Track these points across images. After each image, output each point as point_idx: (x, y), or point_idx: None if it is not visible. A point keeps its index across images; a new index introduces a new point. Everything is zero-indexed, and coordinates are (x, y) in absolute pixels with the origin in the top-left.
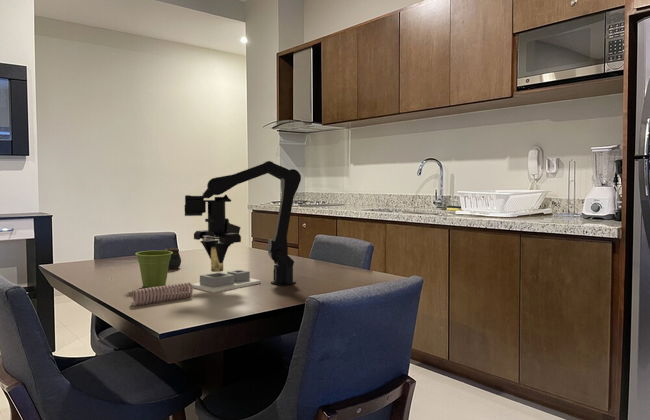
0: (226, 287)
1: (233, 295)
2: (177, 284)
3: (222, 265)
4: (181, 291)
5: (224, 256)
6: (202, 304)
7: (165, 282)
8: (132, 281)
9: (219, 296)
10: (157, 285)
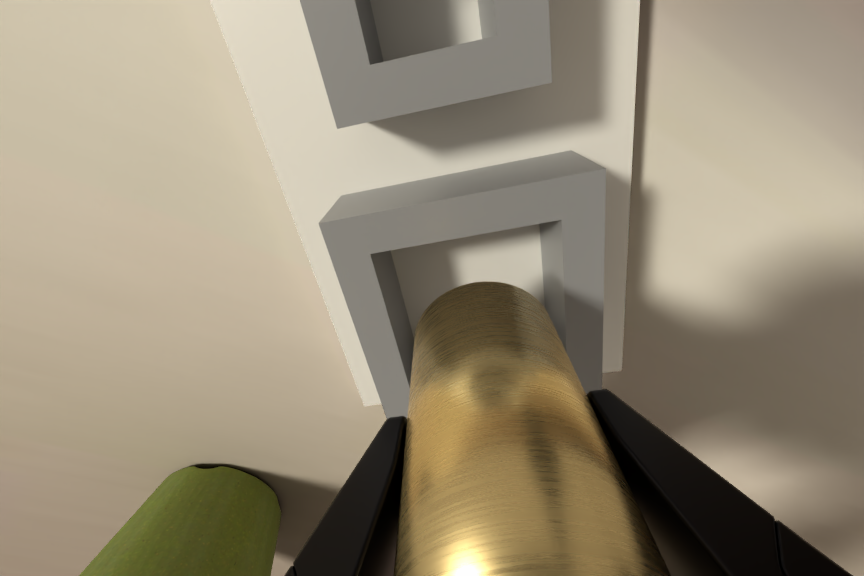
0: (624, 262)
1: (800, 289)
2: None
3: (565, 352)
4: None
5: (701, 467)
6: (791, 476)
7: (239, 486)
8: (60, 532)
9: (734, 363)
10: (280, 514)
